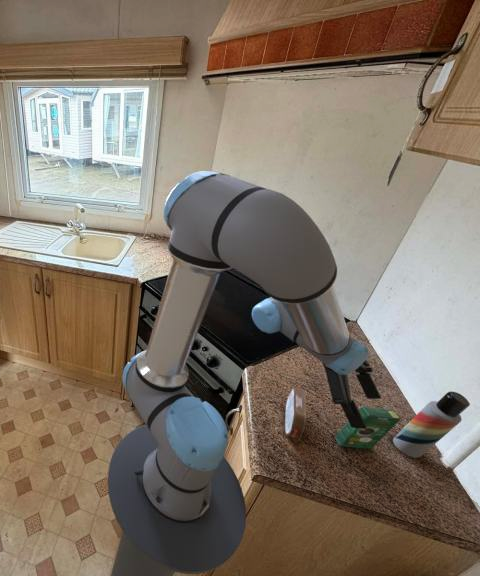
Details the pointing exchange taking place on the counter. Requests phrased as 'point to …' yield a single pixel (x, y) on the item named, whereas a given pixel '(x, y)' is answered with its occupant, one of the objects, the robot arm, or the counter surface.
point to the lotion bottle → (431, 424)
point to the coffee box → (368, 428)
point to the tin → (295, 414)
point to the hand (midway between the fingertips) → (367, 412)
